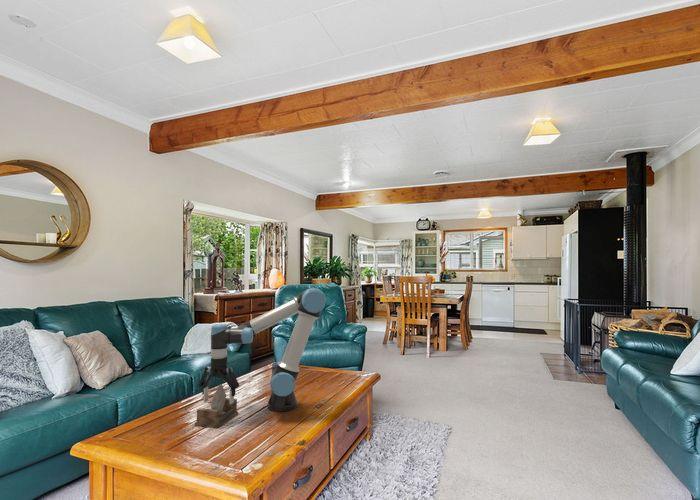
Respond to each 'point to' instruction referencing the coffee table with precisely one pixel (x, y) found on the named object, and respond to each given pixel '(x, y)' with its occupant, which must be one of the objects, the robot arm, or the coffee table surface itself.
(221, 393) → the stone tool
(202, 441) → the coffee table surface
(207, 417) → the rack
